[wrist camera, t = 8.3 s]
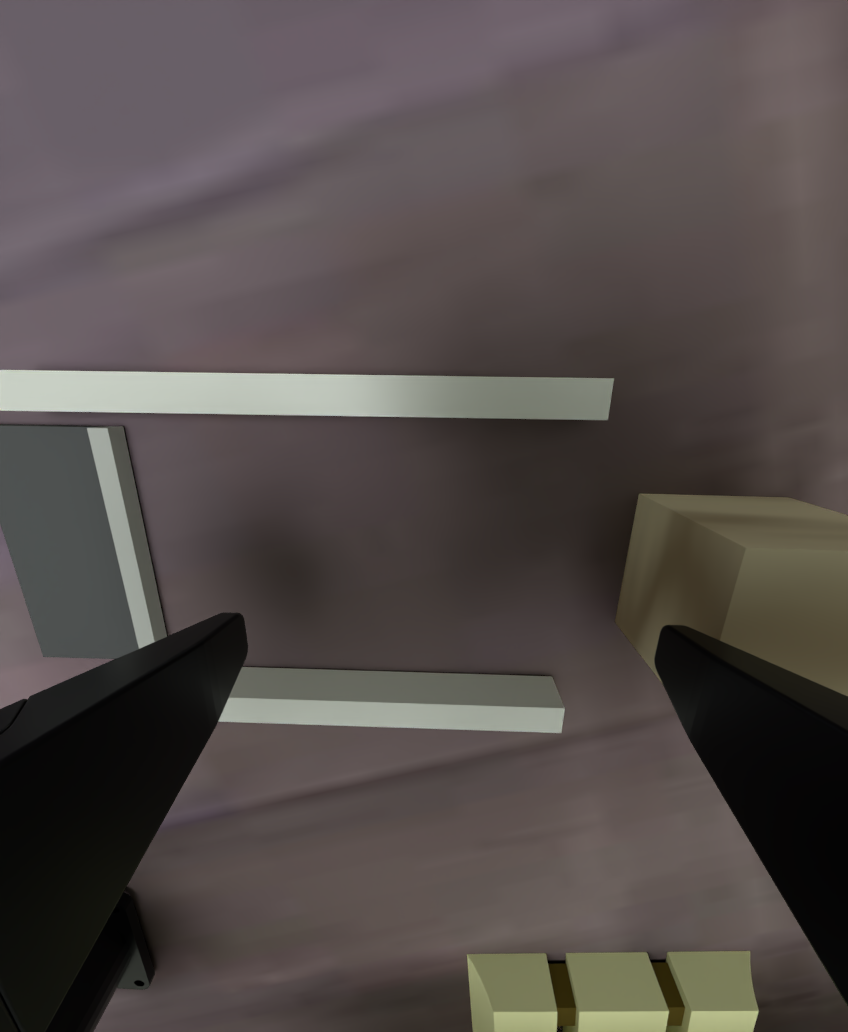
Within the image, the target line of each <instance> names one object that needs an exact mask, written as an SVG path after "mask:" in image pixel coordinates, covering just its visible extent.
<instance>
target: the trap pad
mask: <svg viewBox="0 0 848 1032" xmlns="http://www.w3.org/2000/svg"><path fill="white" fill-rule="evenodd" d="M0 524H1V527H2V530H3V534H4V537H5V540H6V543H7V546H8V549H9V552H10V555H11V558H12V561H13V564H14V568H15V571H16V574H17V577H18V580H19V583H20V586H21V589H22V592H23V595H24V598H25V602H26V605H27V608H28V611H29V614H30V617H31V620H32V623H33V626H34V629H35V633H36V636H37V639H38V642H39V645H40V648H41V651H42V654H43V657H68V658H101V659H117V658H119V657H121V656H124V655H126V654H128V653H130V652H133V651H135V650H137V649H140V648H142V647H144V646H147V645H149V644H151V643H153V642H156V641H158V640H160V639H163V638H165V637H167V634H166V629H165V624H164V620H163V615H162V610H161V605H160V600H159V596H158V591H157V586H156V581H155V576H154V572H153V567H152V562H151V557H150V553H149V548H148V543H147V538H146V533H145V529H144V524H143V519H142V514H141V510H140V505H139V500H138V495H137V490H136V486H135V481H134V476H133V471H132V466H131V462H130V457H129V452H128V447H127V443H126V438H125V433H124V428H123V426H72V425H12V424H0Z"/></svg>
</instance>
